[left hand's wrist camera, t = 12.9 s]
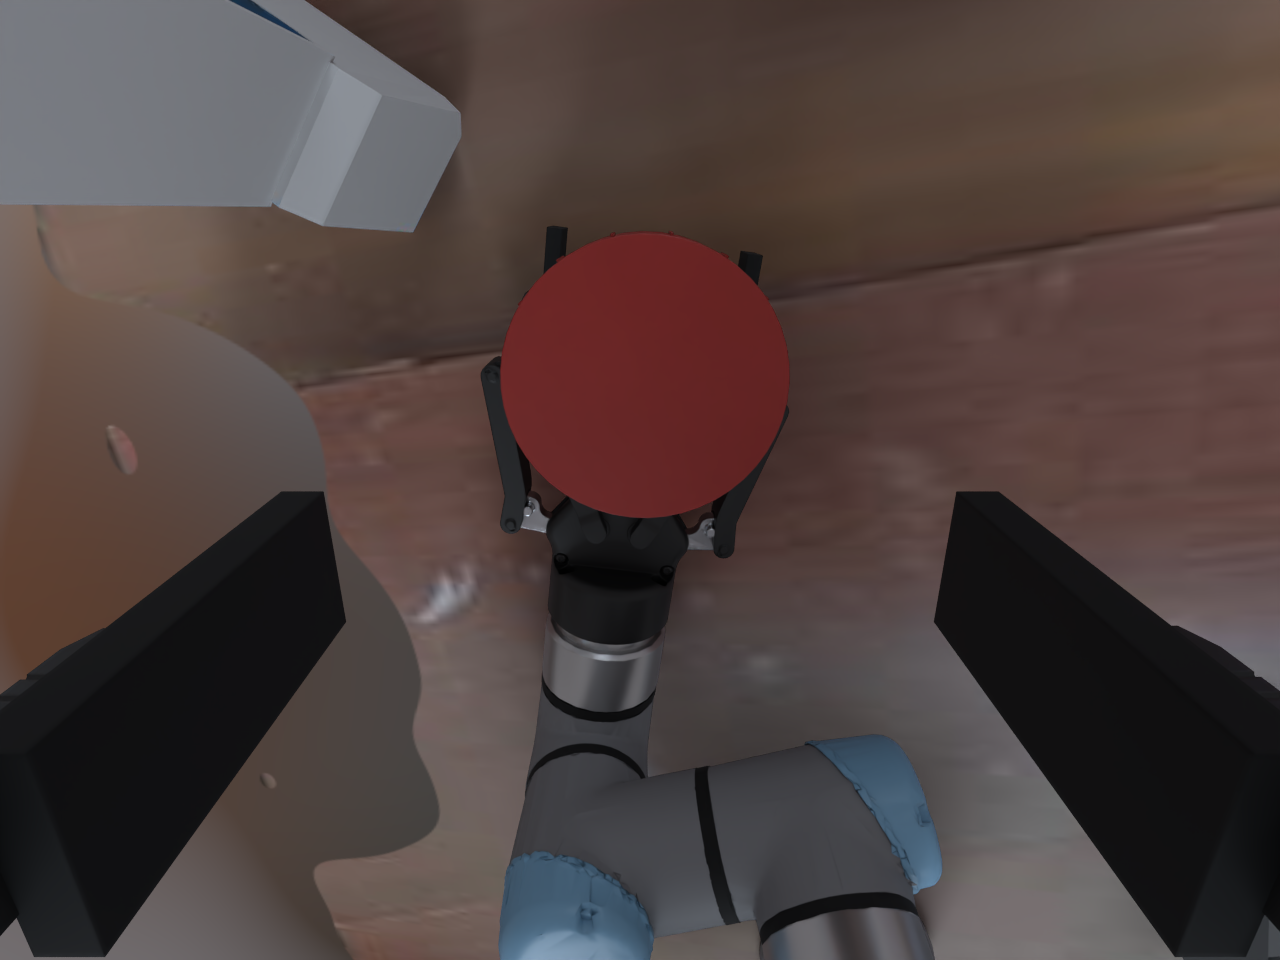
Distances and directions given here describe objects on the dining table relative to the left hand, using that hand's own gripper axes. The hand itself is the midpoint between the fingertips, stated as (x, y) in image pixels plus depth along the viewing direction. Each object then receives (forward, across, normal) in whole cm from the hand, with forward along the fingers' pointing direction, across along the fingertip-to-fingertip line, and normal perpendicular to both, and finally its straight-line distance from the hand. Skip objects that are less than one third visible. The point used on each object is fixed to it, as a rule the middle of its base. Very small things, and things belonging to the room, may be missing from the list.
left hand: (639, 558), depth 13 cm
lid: (+13, 0, 0) cm, 13 cm away
